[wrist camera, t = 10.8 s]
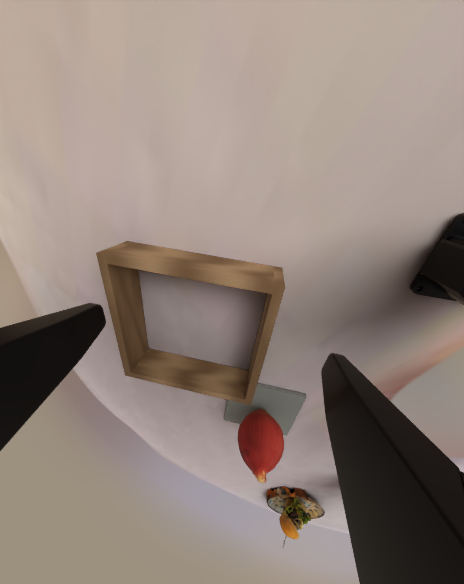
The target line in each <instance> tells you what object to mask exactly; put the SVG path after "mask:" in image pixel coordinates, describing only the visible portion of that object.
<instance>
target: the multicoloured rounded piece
mask: <svg viewBox="0 0 464 584" xmlns="http://www.w3.org/2000/svg"><path fill="white" fill-rule="evenodd" d="M267 504H268V506H269V507H270V508H271V509H273V510H274V511H276V512H278V513H280V514H282V515H281V516H280V525H281V528H282V530H283V532H284V533H285V534H286V536H288V537H290V538H292V539H298V538H299V534H298V532H297V530H298V529H302V528H303V524H307V522H308V520H309V521H310V520H311V519H314V518H320V517H322V516H323V515H324V513H325V512H324V510H323V509H322V508H321V506H320V505H318V504H317V502H315V501H314V500H312V499H311V498H309V497H307V496H306V492H305V490H302V489H299V488H295V492H294V493H290V492H289V490H288V489H287V488H286V487H284V486H283V487H281V488H280V487H278V488H277V489H276V490H275V489H274V491H272V490H271V489H270V490H268V492H267Z"/></svg>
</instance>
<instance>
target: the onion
mask: <svg viewBox="0 0 464 584" xmlns="http://www.w3.org/2000/svg"><path fill="white" fill-rule="evenodd" d="M238 444H239V449H240V453H241V456H242V458H243V460H244V462H245V463H246V465H247V466H248V467H249V468H250V469H251V471H252V472H253V474H254V475H255V476H256V478H257V480H258V481H259V482H261V483H264V482H266V473H268V472H270V471H271V470H272V469H274V467H275V466H276V465H277V463H278V462H279V461H280V459H281V457H282V454H283V450H284V439H283V432H282V429H281V427H280V425H279V424H278V423H277V421H276V420H275V419H274V418H273V417H272V416H271V415H270V414H268V413H267V412H266V410H264V409H258V410H255V411H253V412H251V413H249V414H248V415H247V416H246V417H245V418H244V419H243V421H242V423H241V424H240V427H239V431H238Z"/></svg>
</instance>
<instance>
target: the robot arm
mask: <svg viewBox="0 0 464 584" xmlns="http://www.w3.org/2000/svg"><path fill="white" fill-rule="evenodd" d="M463 219H464V213H462V214H459V215H458V216H456V217H455V219H454V220H453V221H452V223H451V224H450V226H449V227H448V229H447V231H446V232H445V234H444V235H443V237H442V238H441V240H440V241H439V243H438V244H437V246H436V247H435V249H434V250H433V252H432V254H431V255H430V257H429V258H428V260H427V261H426V263H425V264H424V266H423V267H422V269H421V271H420V272H419V274H418V275H417V277H416V278H415V280H414V281H413V283H412V284H411V286H410V290H411V291H412V292H413V293H415V294H419V295H425V296H430V297H436V298H442V299H448V300H453V301H458V302H460V303H462V304H463V305H464V223H462V220H463ZM418 287H420V288H419V289H417V288H418ZM105 324H106V319H105V315H104V312H103V308H102V306H101V305H98V304H93V303H88V304H84V305H81V306H77V307H74V308H70V309H66V310H63V311H59V312H56V313H52V314H48V315H45V316H41V317H38V318H34V319H31V320H27V321H23V322H20V323H16V324H13V325H9V326H5V327H2V328H0V451H1V450H2V449H3V448H4V446H5V445H6V444H7V443H8V442H9V441H10V440H11V438H12V437H13V436H14V435H15V434H16V432H18V430H19V429H20V428H21V427H22V426H23V425H24V424H25V422H26V421H27V420H28V419H29V418H30V417H31V415H32V414H33V413H34V412H35V411H36V410H37V409H38V408H39V406H40V405H41V404H42V403H43V402H44V401H45V400H46V398H47V397H48V396H49V395H50V394H51V393H52V392H53V390H54V389H55V388H56V387H57V386H58V385H59V384H60V382H61V381H62V380H63V379H64V378H65V377H66V376H67V374H68V373H69V372H70V371H71V370H72V369H73V368H74V366H75V365H76V364H77V363H78V362H79V361H80V359H81V358H82V357H83V355H84V354H85V353H86V351H87V350H88V349H89V347H90V346H91V345H92V343H93V342H94V340H95V339H96V338H97V336H98V335H99V334H100V332H101V331H102V329H103V328H104V327H105ZM321 374H322V385H323V395H324V405H325V414H326V421H327V426H328V431H329V436H330V441H331V446H332V451H333V455H334V460H335V465H336V470H337V475H338V480H339V485H340V489H341V494H342V499H343V504H344V509H345V514H346V519H347V524H348V528H349V533H350V538H351V543H352V548H353V553H354V558H355V562H356V567H357V572H358V577H359V582H360V584H464V473H463V472H461V471H460V470H459V468H458V467H457V466H456V465H455V464H454V463H453V462H452V461H451V460H450V459H449V458H448V457H447V456H446V455H445V454H444V453H443V452H442V451H441V450H440V449H438V447H437V446H435V444H433V443H432V442H431V441H430V440H429V439H428V438H427V437H426V436H425V435H424V434H423V433H422V432H421V431H420V430H419V429H418V428H417V427H416V426H415V425H414V424H413V423H412V422H411V421H410V420H409V419H408V418H407V417H406V416H405V415H404V414H403V413H402V412H401V411H400V410H399V409H397V407H395V405H394V404H392V402H390V401H389V400H388V399H387V398H386V397H385V396H384V395H383V394H382V393H381V392H380V391H379V390H378V389H377V388H376V387H375V386H374V385H373V384H372V383H371V382H370V381H369V380H368V379H367V378H366V377H365V376H364V375H363V374H362V373H361V372H360V371H359V370H358V369H357V368H356V367H355V366H354V365H353V364H352V363H351V362H350V361H348V360H347V359H346V358H345V357H344V356H343V355H339V354H334V353H331V354H330V355H329V356H328V358H327V360H326V362H325V364H324V366H323V368H322V373H321Z"/></svg>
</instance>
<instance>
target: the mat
mask: <svg viewBox="0 0 464 584" xmlns="http://www.w3.org/2000/svg"><path fill="white" fill-rule="evenodd" d="M305 399H306V394H304V393H299V392H295V391H291V390H286V389H282V388H277V387H273V386H269V385H264V384H260V383H257V387H256V390H255V394H254V397H253V400H252V404H251V405H247V404H243V403H239V402H235V401H231V400H228V402H227V407H226V413H225V418H224V420H226V421H230V422H234V423H238V424H241V423H242V421H243V419H244V418H245V417H246V416H247V415H248V414H249V413H251V412H253V411H255V410H258V409H264V410H266V412H267V413H268V414H270V415H271V416H272V417H273V418H274V419H275V420H276V421H277V423H278V424H279V425H280V427H281V429H282V432H283V435H287V434H288V432H289V430H290V428H291V426H292V424H293V422H294V420H295V418H296V416H297V414H298V413H299V411H300V409H301V407H302V405H303V403H304V401H305Z"/></svg>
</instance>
